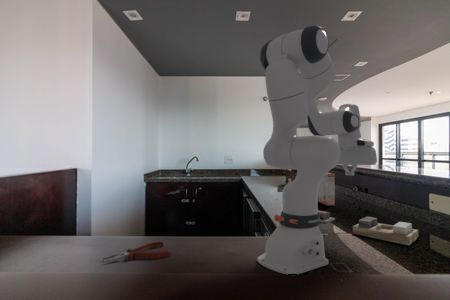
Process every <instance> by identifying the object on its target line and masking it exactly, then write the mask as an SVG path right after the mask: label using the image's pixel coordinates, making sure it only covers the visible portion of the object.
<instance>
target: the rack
mask: <svg viewBox="0 0 450 300" xmlns="http://www.w3.org/2000/svg"><path fill="white" fill-rule="evenodd" d="M352 234H354V235H359V236H362V237H363V236H364V237H368V238H372V239H377V240H382V241H387V242H391V243H397V244H399V245H405V246H410V245H412V244H413V243H414V242H415V241H416V240H417V238H418V237H419V229H414V228H412V232H411V233H410V234H408V235H407V236H406V235H405V234H399V233H394V232H393V225H392V224H386V223H380V222H378V218H377V217H373V216H365V217H362V218H361V219H358V223H357V224H355V225H352ZM418 239H419V238H418Z"/></svg>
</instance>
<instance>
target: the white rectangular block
mask: <svg viewBox="0 0 450 300" xmlns="http://www.w3.org/2000/svg"><path fill="white" fill-rule="evenodd" d="M412 225H413V223H410V222H405V221H398V222H397V223H394V225H393V232H394V233H399V234H405V235H406V236H407V235H408V234H410V233H411V232H412V229H413V226H412Z"/></svg>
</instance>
